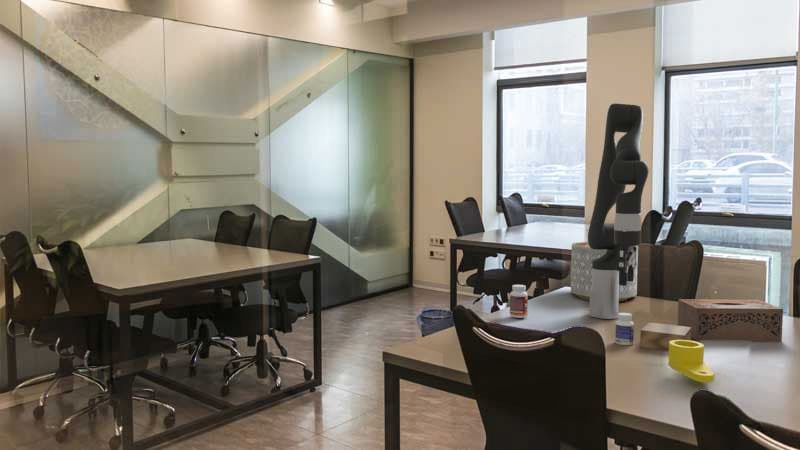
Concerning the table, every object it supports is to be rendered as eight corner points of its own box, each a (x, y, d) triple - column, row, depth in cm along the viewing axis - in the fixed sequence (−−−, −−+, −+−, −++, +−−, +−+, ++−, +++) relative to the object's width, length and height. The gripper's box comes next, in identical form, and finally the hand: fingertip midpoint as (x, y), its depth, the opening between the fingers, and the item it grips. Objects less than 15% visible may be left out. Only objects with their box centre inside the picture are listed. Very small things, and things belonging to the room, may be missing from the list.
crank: (663, 361, 178) (664, 339, 178) (695, 361, 177) (696, 340, 177) (688, 382, 160) (689, 357, 160) (724, 382, 160) (725, 358, 159)
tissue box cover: (695, 340, 201) (696, 308, 200) (677, 329, 215) (678, 299, 215) (781, 341, 200) (783, 308, 199) (757, 330, 214) (759, 299, 214)
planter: (573, 304, 255) (574, 247, 254) (567, 293, 280) (568, 241, 279) (642, 307, 251) (643, 249, 249) (630, 295, 276) (631, 242, 274)
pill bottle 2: (634, 346, 193) (635, 316, 192) (616, 345, 194) (616, 315, 194) (632, 341, 198) (632, 312, 198) (613, 340, 199) (614, 311, 199)
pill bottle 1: (528, 318, 231) (528, 287, 230) (510, 318, 231) (511, 287, 230) (526, 314, 237) (526, 284, 236) (508, 314, 237) (509, 284, 236)
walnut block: (640, 347, 192) (640, 330, 192) (648, 338, 202) (649, 322, 202) (684, 352, 186) (684, 335, 185) (690, 343, 196) (691, 327, 195)
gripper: (620, 226, 202) (619, 279, 203) (608, 229, 190) (607, 285, 191) (646, 227, 198) (644, 281, 199) (635, 231, 186) (634, 287, 187)
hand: (626, 283), depth 195 cm, fingers open, 8 cm apart
